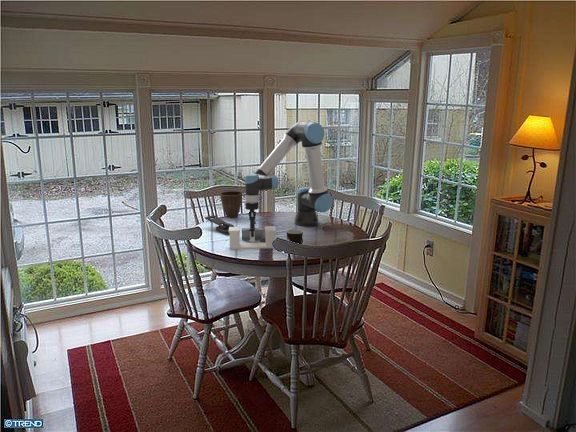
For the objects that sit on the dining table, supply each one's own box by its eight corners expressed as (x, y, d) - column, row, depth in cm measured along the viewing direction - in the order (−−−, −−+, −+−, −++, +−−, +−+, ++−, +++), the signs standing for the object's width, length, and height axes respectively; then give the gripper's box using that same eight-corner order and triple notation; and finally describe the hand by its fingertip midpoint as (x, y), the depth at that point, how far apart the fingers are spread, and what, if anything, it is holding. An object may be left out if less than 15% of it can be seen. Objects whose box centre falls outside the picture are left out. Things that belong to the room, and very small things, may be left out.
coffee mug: (285, 247, 262) (285, 229, 260) (301, 247, 263) (301, 229, 260) (287, 254, 251) (287, 235, 248) (304, 254, 252) (304, 235, 249)
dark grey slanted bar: (215, 214, 306) (239, 222, 289) (215, 224, 308) (239, 233, 290) (203, 217, 301) (227, 224, 283) (203, 227, 302) (227, 235, 284)
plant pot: (220, 219, 320) (220, 195, 316) (220, 214, 334) (219, 191, 330) (243, 219, 322) (243, 195, 318) (242, 213, 336) (241, 190, 333)
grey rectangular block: (263, 238, 280) (263, 228, 279) (263, 240, 276) (263, 229, 275) (242, 238, 279) (242, 228, 278) (241, 240, 276) (241, 230, 274)
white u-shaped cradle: (275, 243, 269) (275, 226, 266) (276, 248, 261) (275, 230, 259) (229, 244, 267) (229, 226, 265) (229, 249, 259) (228, 230, 257)
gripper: (245, 197, 284) (246, 232, 289) (244, 206, 260) (245, 245, 265) (258, 197, 285) (258, 232, 290) (259, 206, 261) (259, 245, 266)
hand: (252, 238), depth 278 cm, fingers open, 13 cm apart
